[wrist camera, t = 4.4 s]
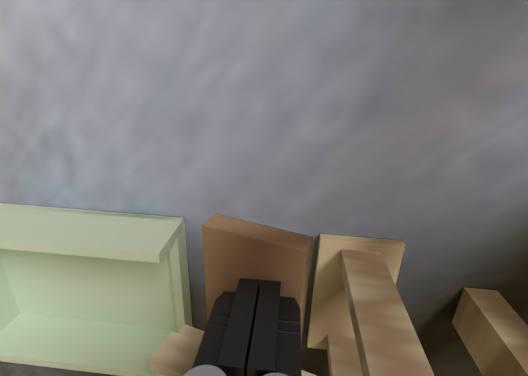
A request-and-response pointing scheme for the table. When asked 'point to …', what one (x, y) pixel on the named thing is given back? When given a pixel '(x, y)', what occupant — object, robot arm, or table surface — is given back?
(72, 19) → the table surface
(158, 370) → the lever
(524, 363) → the fulcrum
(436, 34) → the table surface
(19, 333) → the tray
